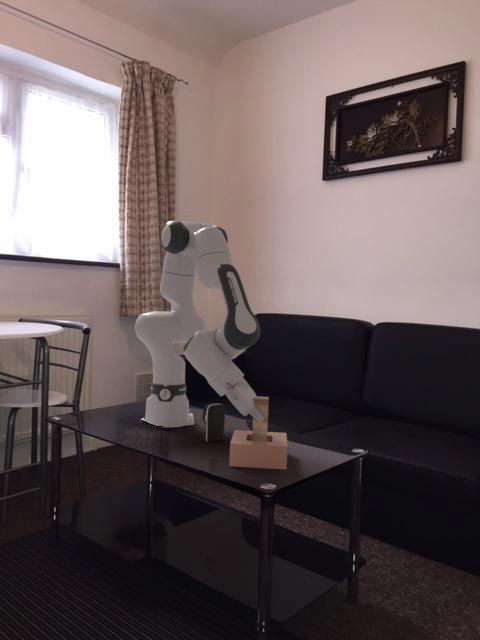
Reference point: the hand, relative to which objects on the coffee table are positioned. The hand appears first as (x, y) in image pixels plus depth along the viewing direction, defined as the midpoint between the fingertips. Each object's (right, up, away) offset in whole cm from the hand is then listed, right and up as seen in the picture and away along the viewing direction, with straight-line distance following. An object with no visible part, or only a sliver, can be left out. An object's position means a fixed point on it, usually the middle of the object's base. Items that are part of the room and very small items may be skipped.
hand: (262, 418), depth 147 cm
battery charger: (-15, -11, +19) cm, 27 cm away
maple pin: (-1, -6, 0) cm, 6 cm away
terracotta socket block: (-1, -11, +1) cm, 11 cm away
